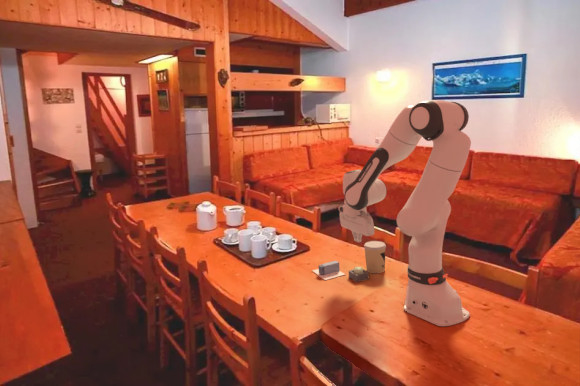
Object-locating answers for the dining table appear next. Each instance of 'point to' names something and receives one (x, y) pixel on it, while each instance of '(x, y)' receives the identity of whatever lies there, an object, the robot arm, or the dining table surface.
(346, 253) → the dining table surface
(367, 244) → the coffee cup
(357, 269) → the button
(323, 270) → the grey rectangular block
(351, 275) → the button housing
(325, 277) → the paper
